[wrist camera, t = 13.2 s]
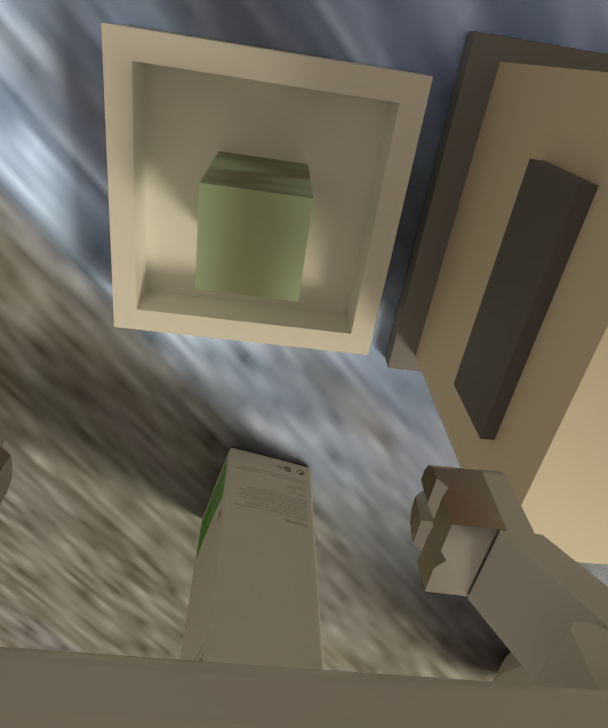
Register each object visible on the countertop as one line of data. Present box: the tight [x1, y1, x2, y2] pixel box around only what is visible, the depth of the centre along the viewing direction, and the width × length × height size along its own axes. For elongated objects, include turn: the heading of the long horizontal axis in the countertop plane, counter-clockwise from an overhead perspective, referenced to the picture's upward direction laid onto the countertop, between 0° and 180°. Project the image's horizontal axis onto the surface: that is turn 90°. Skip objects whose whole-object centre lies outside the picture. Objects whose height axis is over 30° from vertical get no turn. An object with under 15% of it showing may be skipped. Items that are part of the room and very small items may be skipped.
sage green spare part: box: [195, 151, 314, 301], centre depth 25 cm, size 4×4×7 cm
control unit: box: [385, 31, 608, 564], centre depth 24 cm, size 10×18×16 cm, turn 172°
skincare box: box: [180, 448, 324, 670], centre depth 34 cm, size 8×7×16 cm
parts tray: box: [101, 23, 433, 355], centre depth 28 cm, size 14×14×4 cm
